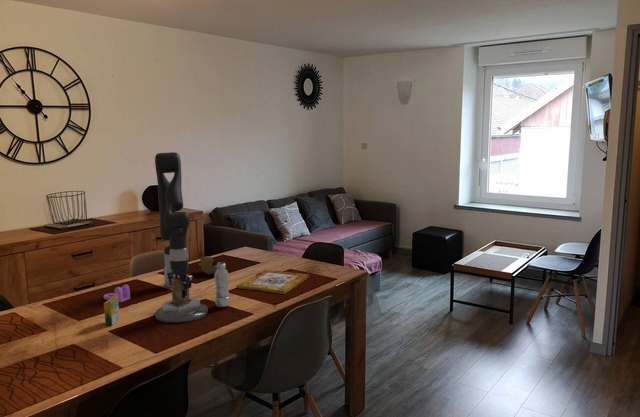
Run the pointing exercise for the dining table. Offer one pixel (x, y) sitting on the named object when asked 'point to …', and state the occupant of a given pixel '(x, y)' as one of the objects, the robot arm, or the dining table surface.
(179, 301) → the tan rectangular block
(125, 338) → the dining table surface
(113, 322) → the crayon box
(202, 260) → the wooden carving
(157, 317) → the grey round socket base
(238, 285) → the picture frame
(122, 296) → the bracket
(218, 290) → the plastic bottle
